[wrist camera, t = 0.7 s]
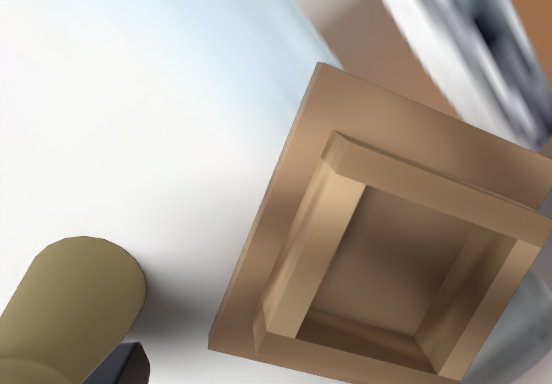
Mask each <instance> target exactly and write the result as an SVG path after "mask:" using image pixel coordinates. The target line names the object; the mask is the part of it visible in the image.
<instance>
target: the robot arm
mask: <svg viewBox="0 0 552 384" xmlns="http://www.w3.org/2000/svg"><path fill="white" fill-rule="evenodd" d="M149 376H150V363H149V360H148V358H147V356H146V354H145V351H144V349H143V347H142V345H141V343H140V342H139V341H123V342H120V343H119V344H118V345H117V346H116V347H115V348H114V349H113V350H112V351H111V352H110V353H109V354H108V355H107V356H106V357H105V358H104V359H103V360H102V361H101V363H100V364H99V365H98V366H97V367H96V368H95V369H94V370H93V371H92V372H91V373H90V374H89V375H88V376H87V377H86V378H85V379H84V381H83V382H82V383H81V384H148V382H149Z"/></svg>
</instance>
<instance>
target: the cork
mask: <svg viewBox="0 0 552 384" xmlns="http://www.w3.org/2000/svg"><path fill="white" fill-rule="evenodd" d="M146 290H147V287H146V283H145V278H144V273H143V272H142V270H141V268H140V267H139V265H138V263H137V262H136V260H135V259H134V258H133V257H132V256H131V255H130V254H128V253H127V252H126V251H125V250H124V249H123V248H122V247H120V246H118V245H115V244H113V243H111V242H109V241H107V240H104V239H99V238H93V237H87V236H81V237H72V238H64V239H62V240H60V241H58V242H55V243H53V244H51V245H48V246H47V247H46V248H45V249H44V250H43V251H42V252H40V253H39V254H38V255H37V256H36V257H35V258H34V260H33V262H32V264H31V265H30V267H29V269H28V270H27V272H26V274H25V276H24V277H23V279H22V281H21V282H20V284H19V286H18V288H17V289H16V291H15V293H14V294H13V296H12V298H11V300H10V301H9V303H8V305H7V307H6V308H5V310H4V312H3V313H2V315H1V317H0V384H81V383H82V382H83V381H84V379H85V378H86V377H87V376H88V375H89V374H90V373H91V372H92V371H93V370H94V369H95V368H96V367H97V366H98V365H99V364H100V363H101V361H102V360H103V359H104V358H105V357H106V356H107V355H108V354H109V353H110V352H111V351H112V350H113V349H114V348H115V347H116V346H117V345H118V344H119V343H120V342H122V341H123V340H124V338H125V336H126V334H127V333H128V331H129V329H130V328H131V326H132V324H133V322H134V321H135V319H136V317H137V315H138V314H139V312H140V310H141V308H142V307H143V305H144V302H145V296H146Z"/></svg>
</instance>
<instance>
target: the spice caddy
mask: <svg viewBox="0 0 552 384" xmlns="http://www.w3.org/2000/svg"><path fill="white" fill-rule="evenodd" d="M551 187H552V159H549V158H547V157H545V156H542V155H540V154H537V153H535V152H533V151H530V150H528V149H526V148H523V147H521V146H519V145H516V144H514V143H512V142H509V141H507V140H504V139H502V138H500V137H497V136H495V135H493V134H490V133H488V132H486V131H483V130H481V129H478V128H476V127H474V126H471V125H469V124H467V123H464V122H462V121H459V120H457V119H455V118H453V117H450V116H448V115H445V114H443V113H441V112H438V111H436V110H433V109H431V108H429V107H427V106H424V105H422V104H419V103H417V102H415V101H412V100H410V99H408V98H405V97H403V96H401V95H398V94H396V93H393V92H391V91H389V90H386V89H384V88H382V87H379V86H377V85H375V84H372V83H370V82H368V81H365V80H363V79H360V78H358V77H355V76H353V75H351V74H349V73H346V72H344V71H342V70H339V69H337V68H334V67H332V66H330V65H327V64H325V63H321V62H317V65H316V67H315V70H314V72H313V75H312V77H311V80H310V82H309V85H308V87H307V90H306V92H305V95H304V97H303V100H302V102H301V105H300V107H299V110H298V112H297V115H296V117H295V120H294V122H293V125H292V127H291V130H290V132H289V135H288V137H287V140H286V142H285V145H284V147H283V150H282V152H281V155H280V157H279V160H278V162H277V165H276V167H275V170H274V172H273V175H272V177H271V180H270V182H269V185H268V188H267V190H266V193H265V195H264V198H263V200H262V203H261V205H260V208H259V210H258V213H257V215H256V218H255V220H254V223H253V225H252V228H251V230H250V233H249V235H248V238H247V240H246V243H245V245H244V248H243V250H242V253H241V255H240V258H239V260H238V263H237V265H236V268H235V270H234V273H233V275H232V278H231V280H230V283H229V285H228V288H227V290H226V293H225V295H224V298H223V300H222V303H221V305H220V308H219V311H218V313H217V316H216V318H215V321H214V323H213V326H212V328H211V331H210V333H209V339H208V349H209V350H213V351H218V352H222V353H226V354H230V355H234V356H239V357H243V358H247V359H251V360H255V361H260V362H264V363H268V364H272V365H276V366H281V367H285V368H289V369H293V370H297V371H302V372H306V373H310V374H314V375H318V376H323V377H327V378H331V379H335V380H339V381H344V382H348V383H352V384H459V383H460V381H461V379H462V378H463V376H464V375H465V373H466V371H467V370H468V368H469V366H470V365H471V363H472V361H473V360H474V358H475V357H476V355H477V353H478V352H479V350H480V348H481V347H482V345H483V343H484V342H485V340H486V339H487V337H488V335H489V334H490V332H491V330H492V329H493V327H494V325H495V324H496V322H497V321H498V319H499V317H500V316H501V314H502V312H503V311H504V309H505V307H506V306H507V304H508V303H509V301H510V299H511V298H512V296H513V294H514V293H515V291H516V289H517V288H518V286H519V285H520V283H521V281H522V280H523V278H524V276H525V275H526V273H527V271H528V270H529V268H530V267H531V265H532V263H533V262H534V260H535V258H536V256H537V255H538V253H539V252H540V250H541V248H542V247H543V245H544V244H545V242H546V240H547V239H548V237H549V235H550V234H551V232H552V219H551V218H549V217H547V216H545V215H543V214H541V213H539V212H537V211H538V209H539V207H540V206H541V204H542V203H543V201H544V199H545V197H546V196H547V194H548V192H549V191H550V189H551Z"/></svg>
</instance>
